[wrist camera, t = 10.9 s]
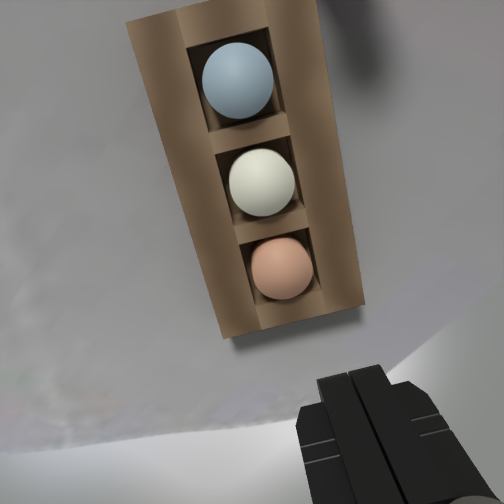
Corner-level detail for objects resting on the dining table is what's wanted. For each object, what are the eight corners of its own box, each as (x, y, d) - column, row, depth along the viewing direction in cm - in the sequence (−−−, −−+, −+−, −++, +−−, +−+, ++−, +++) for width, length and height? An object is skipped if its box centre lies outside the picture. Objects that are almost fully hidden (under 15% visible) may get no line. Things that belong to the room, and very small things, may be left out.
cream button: (281, 139, 34) (287, 144, 31) (293, 197, 35) (300, 207, 32) (221, 154, 34) (222, 161, 31) (237, 211, 35) (238, 223, 33)
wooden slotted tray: (301, -16, 31) (311, -27, 28) (353, 285, 40) (365, 304, 37) (134, 28, 31) (125, 22, 28) (222, 317, 40) (223, 339, 37)
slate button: (260, 38, 31) (264, 34, 28) (274, 106, 33) (279, 109, 30) (195, 54, 31) (193, 52, 28) (213, 121, 33) (213, 126, 30)
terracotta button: (299, 225, 36) (306, 237, 33) (310, 275, 38) (317, 291, 35) (244, 239, 36) (246, 252, 33) (257, 288, 38) (260, 305, 35)
